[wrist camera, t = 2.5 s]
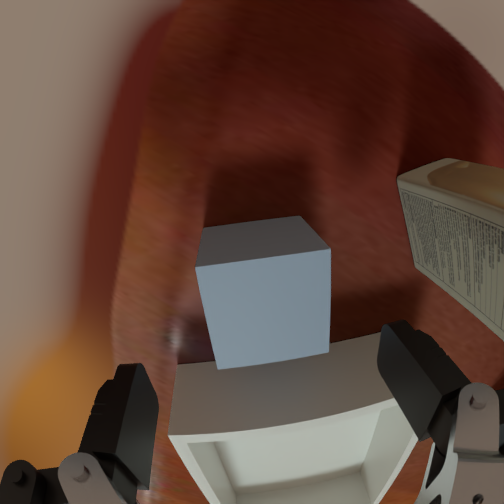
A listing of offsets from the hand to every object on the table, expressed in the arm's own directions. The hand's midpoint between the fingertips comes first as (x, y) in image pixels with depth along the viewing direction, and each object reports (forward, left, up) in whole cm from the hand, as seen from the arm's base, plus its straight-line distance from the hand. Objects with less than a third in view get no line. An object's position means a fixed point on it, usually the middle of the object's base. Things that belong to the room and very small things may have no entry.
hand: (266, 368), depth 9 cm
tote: (-3, +17, -8) cm, 19 cm away
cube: (-1, 0, -8) cm, 8 cm away
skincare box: (-12, -2, -8) cm, 14 cm away
